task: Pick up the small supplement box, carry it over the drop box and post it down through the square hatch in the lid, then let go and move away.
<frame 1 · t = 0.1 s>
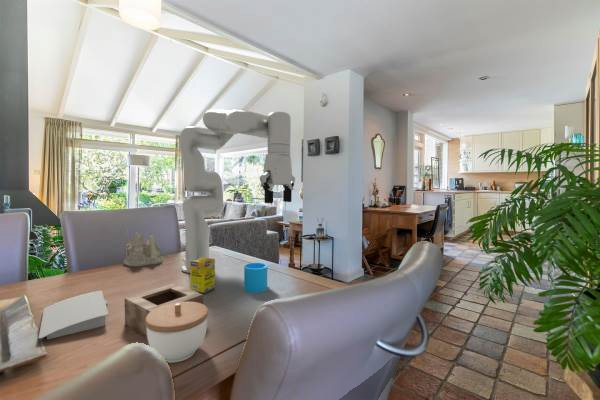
hand: (278, 202, 98), 31 cm above the table, tool pointing down, fingers open, 9 cm apart
lidded bowl: (178, 353, 65), on the table
drop box: (164, 321, 79), on the table
sand castle: (143, 261, 137), on the table
mug: (254, 287, 107), on the table
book: (79, 320, 80), on the table
supplement box: (202, 291, 102), on the table
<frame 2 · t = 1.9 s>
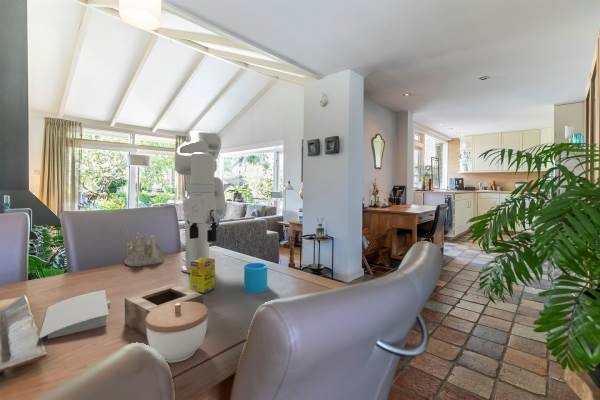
hand: (202, 239, 100), 18 cm above the table, tool pointing down, fingers open, 9 cm apart
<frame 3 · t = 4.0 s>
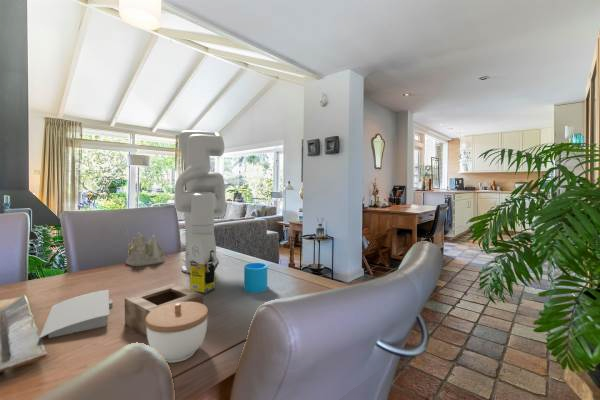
hand: (202, 280, 101), 4 cm above the table, tool pointing down, fingers closed on supplement box, 6 cm apart
supplement box: (202, 291, 102), on the table, touching gripper
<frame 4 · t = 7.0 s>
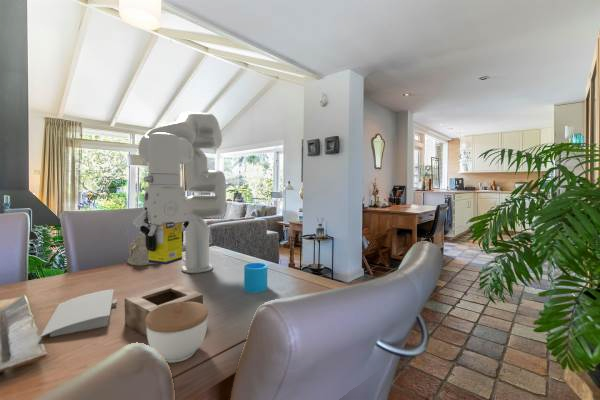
hand: (165, 247, 78), 20 cm above the table, tool pointing down, fingers closed on supplement box, 6 cm apart
supplement box: (165, 261, 79), point 16 cm above the table, touching gripper
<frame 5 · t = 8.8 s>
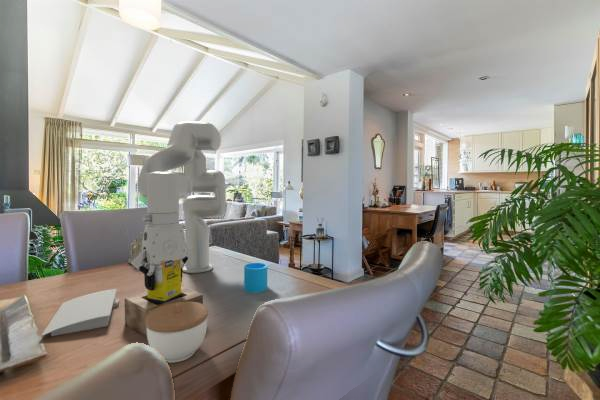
hand: (164, 284, 78), 10 cm above the table, tool pointing down, fingers closed on supplement box, 6 cm apart
supplement box: (164, 299, 79), point 6 cm above the table, touching gripper
when the fingers open (8 cm above the table, at t = 10.2 s): supplement box drops 4 cm, resting on drop box.
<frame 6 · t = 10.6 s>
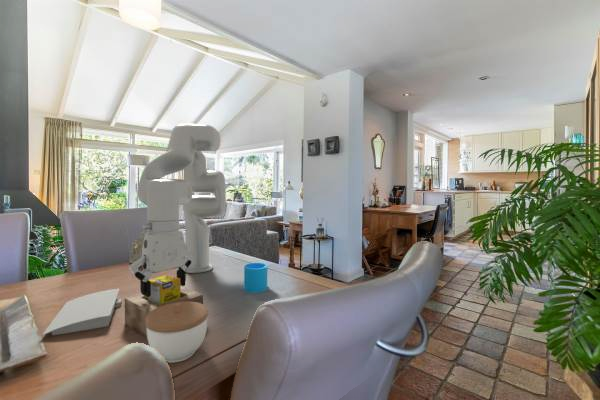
hand: (164, 289, 79), 9 cm above the table, tool pointing down, fingers open, 9 cm apart
supplement box: (164, 319, 79), resting on drop box
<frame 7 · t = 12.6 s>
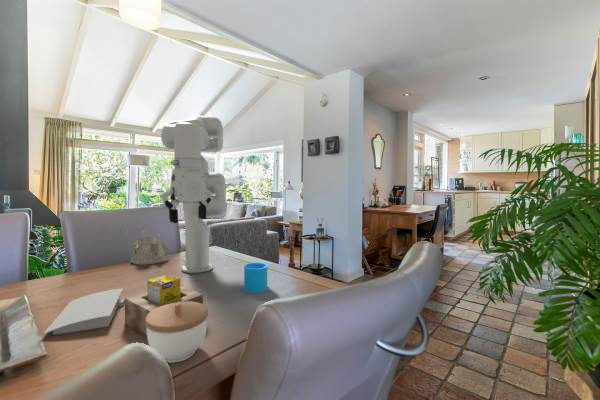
hand: (188, 220, 91), 26 cm above the table, tool pointing down, fingers open, 9 cm apart
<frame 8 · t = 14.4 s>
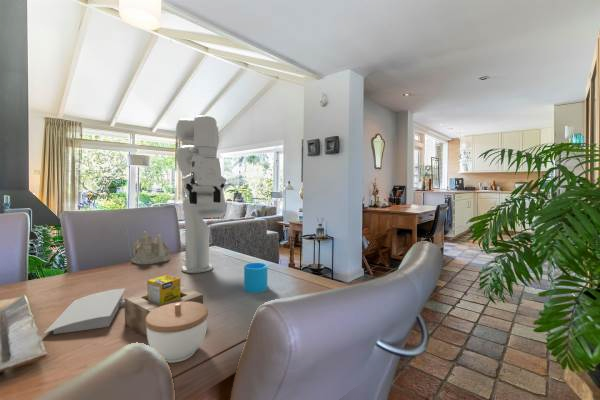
hand: (205, 203, 102), 30 cm above the table, tool pointing down, fingers open, 9 cm apart
at the end: supplement box inside the target area on the drop box (0.5 cm from its centre), point 0.4 cm above the drop box's base; the gripper is holding nothing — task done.
